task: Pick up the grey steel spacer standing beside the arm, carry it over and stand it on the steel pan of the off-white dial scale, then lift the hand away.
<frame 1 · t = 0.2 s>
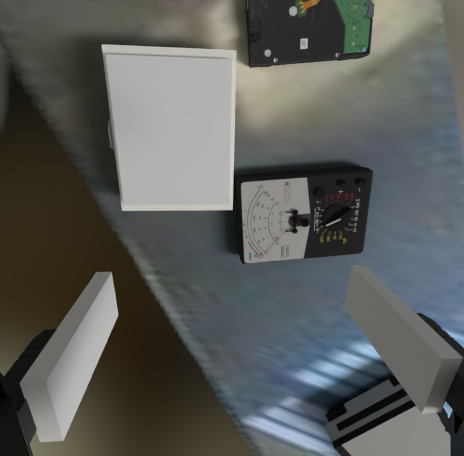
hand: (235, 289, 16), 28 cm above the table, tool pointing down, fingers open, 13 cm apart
disk drive: (304, 17, 35), on the table
scale: (178, 134, 38), on the table
game console: (390, 421, 65), on the table
multimeter: (297, 211, 45), on the table
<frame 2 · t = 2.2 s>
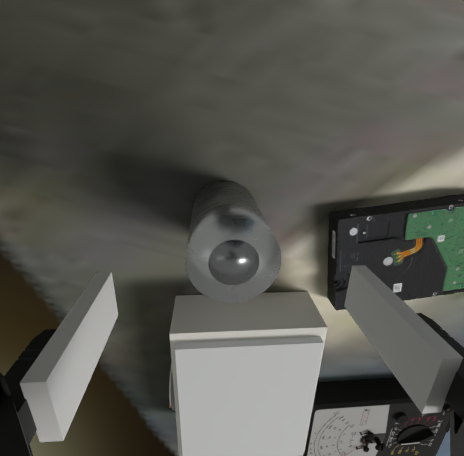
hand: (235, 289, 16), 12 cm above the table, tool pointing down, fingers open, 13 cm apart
disk drive: (393, 245, 30), on the table
scale: (240, 357, 34), on the table
multimeter: (363, 408, 40), on the table
spacer: (224, 212, 27), on the table
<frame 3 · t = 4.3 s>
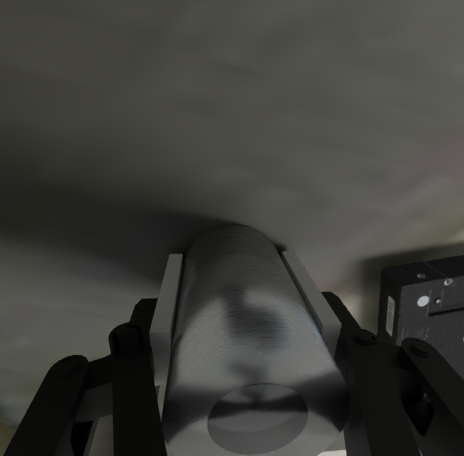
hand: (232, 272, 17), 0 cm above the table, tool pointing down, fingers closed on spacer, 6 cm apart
scale: (251, 451, 25), on the table
spacer: (232, 269, 18), on the table, touching gripper
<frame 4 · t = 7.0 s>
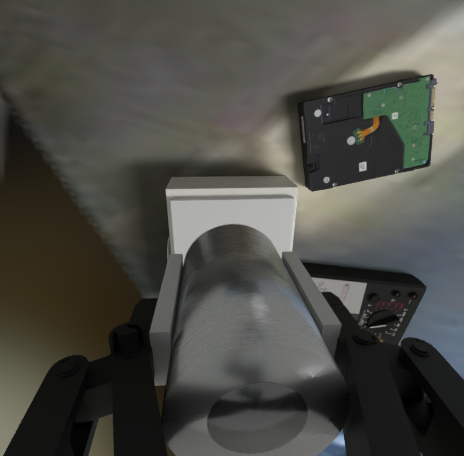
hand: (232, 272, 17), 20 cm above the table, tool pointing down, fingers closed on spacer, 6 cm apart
disk drive: (358, 134, 35), on the table
scale: (229, 242, 39), on the table
multimeter: (341, 301, 45), on the table
spacer: (231, 268, 18), point 19 cm above the table, touching gripper
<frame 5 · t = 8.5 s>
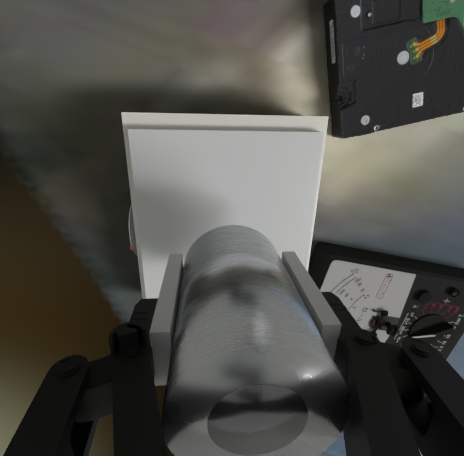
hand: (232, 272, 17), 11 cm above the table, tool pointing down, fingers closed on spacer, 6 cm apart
disk drive: (407, 58, 25), on the table
scale: (222, 214, 28), on the table
multimeter: (370, 301, 34), on the table
spacer: (232, 269, 18), point 11 cm above the table, touching gripper
when the fingers open (8 cm above the table, at t = 9.8 s): spacer drops 1 cm, resting on scale.
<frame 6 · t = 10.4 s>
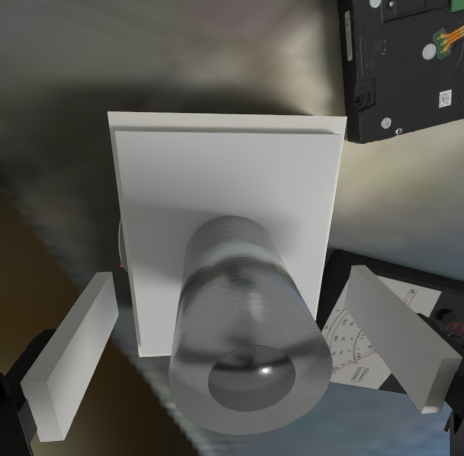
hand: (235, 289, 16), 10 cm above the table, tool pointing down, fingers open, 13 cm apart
disk drive: (431, 51, 22), on the table
scale: (224, 224, 25), on the table
multimeter: (384, 317, 31), on the table
spacer: (230, 257, 19), point 6 cm above the table, touching scale
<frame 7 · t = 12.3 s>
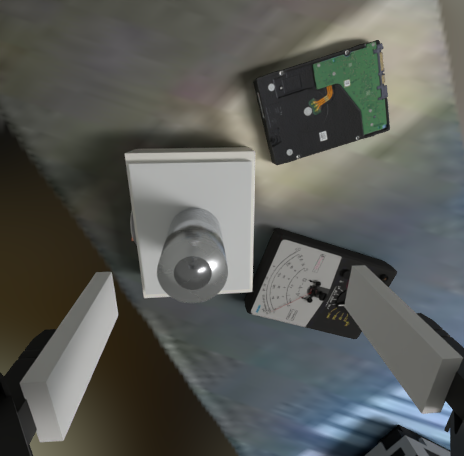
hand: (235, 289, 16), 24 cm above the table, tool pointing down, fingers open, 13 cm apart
disk drive: (317, 106, 36), on the table
scale: (196, 215, 39), on the table
multimeter: (313, 279, 45), on the table
spacer: (195, 232, 33), point 6 cm above the table, touching scale
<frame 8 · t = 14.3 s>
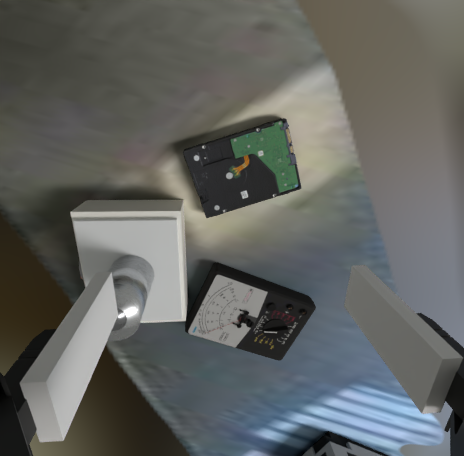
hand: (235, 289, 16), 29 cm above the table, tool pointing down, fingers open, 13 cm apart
disk drive: (242, 167, 43), on the table
scale: (141, 254, 46), on the table
multimeter: (248, 306, 52), on the table
spacer: (132, 274, 40), point 6 cm above the table, touching scale
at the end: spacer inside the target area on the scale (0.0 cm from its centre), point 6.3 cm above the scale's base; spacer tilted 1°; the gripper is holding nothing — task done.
